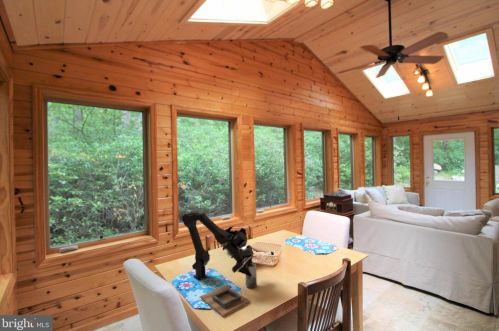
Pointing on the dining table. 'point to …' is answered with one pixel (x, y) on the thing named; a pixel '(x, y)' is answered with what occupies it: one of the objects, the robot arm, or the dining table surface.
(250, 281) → the steel hub
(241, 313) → the dining table surface
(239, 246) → the coal bowl
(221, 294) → the walnut board
